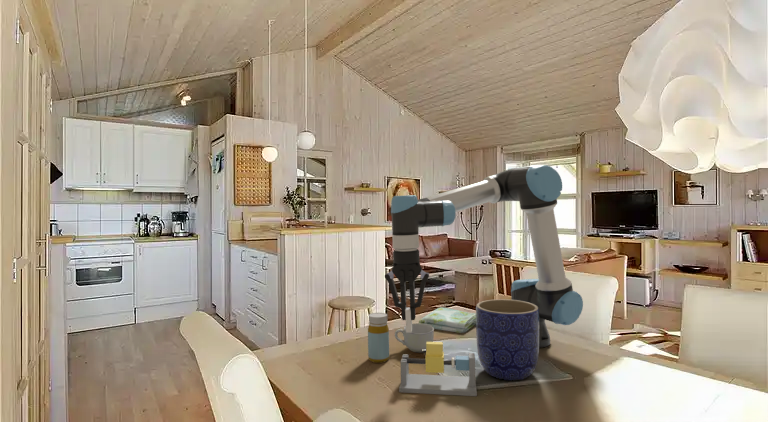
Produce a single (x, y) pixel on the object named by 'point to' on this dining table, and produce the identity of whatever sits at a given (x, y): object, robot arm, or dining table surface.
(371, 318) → the bottle
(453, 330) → the towel
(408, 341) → the teacup
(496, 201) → the robot arm
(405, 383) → the grey u-shaped stand
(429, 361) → the sleeve
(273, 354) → the dining table surface
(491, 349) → the planter
